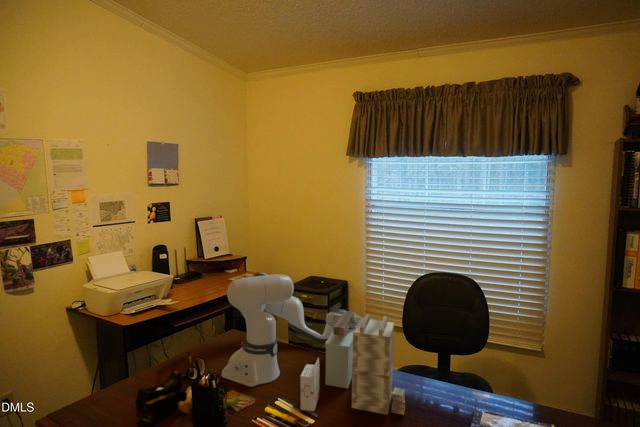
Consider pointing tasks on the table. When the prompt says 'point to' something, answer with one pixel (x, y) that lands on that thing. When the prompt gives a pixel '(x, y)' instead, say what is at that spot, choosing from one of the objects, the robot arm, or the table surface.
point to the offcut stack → (398, 401)
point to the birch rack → (372, 365)
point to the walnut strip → (343, 323)
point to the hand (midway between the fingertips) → (346, 318)
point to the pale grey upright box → (339, 359)
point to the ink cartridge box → (310, 386)
